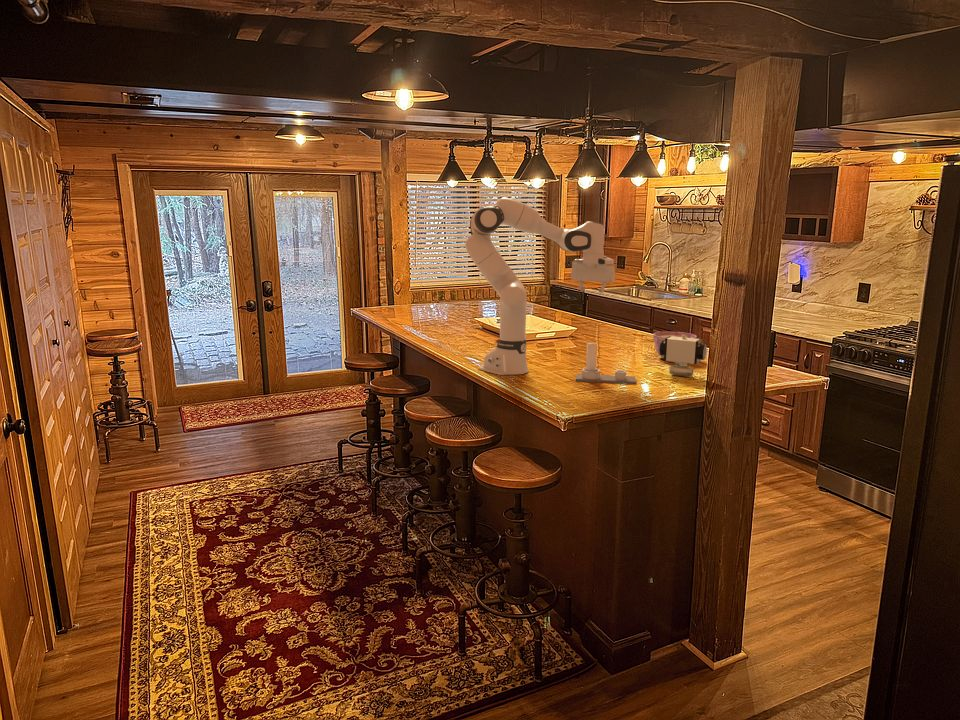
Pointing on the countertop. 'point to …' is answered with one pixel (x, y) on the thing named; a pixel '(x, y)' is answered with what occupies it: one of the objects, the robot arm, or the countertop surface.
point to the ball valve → (682, 353)
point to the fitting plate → (605, 377)
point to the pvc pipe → (591, 357)
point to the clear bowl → (662, 335)
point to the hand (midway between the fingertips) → (591, 291)
